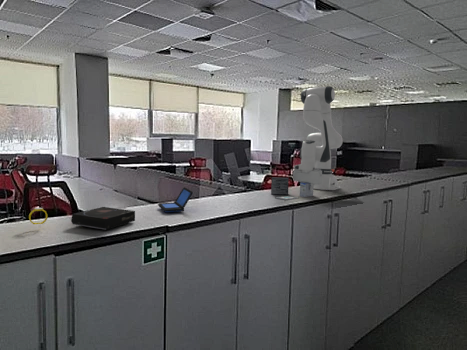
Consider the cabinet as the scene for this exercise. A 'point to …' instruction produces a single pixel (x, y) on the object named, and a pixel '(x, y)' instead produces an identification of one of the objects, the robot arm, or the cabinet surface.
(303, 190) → the medicine box
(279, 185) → the small box
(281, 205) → the cabinet surface
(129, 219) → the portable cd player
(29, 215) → the yellow ring
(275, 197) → the card
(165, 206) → the handheld game console
